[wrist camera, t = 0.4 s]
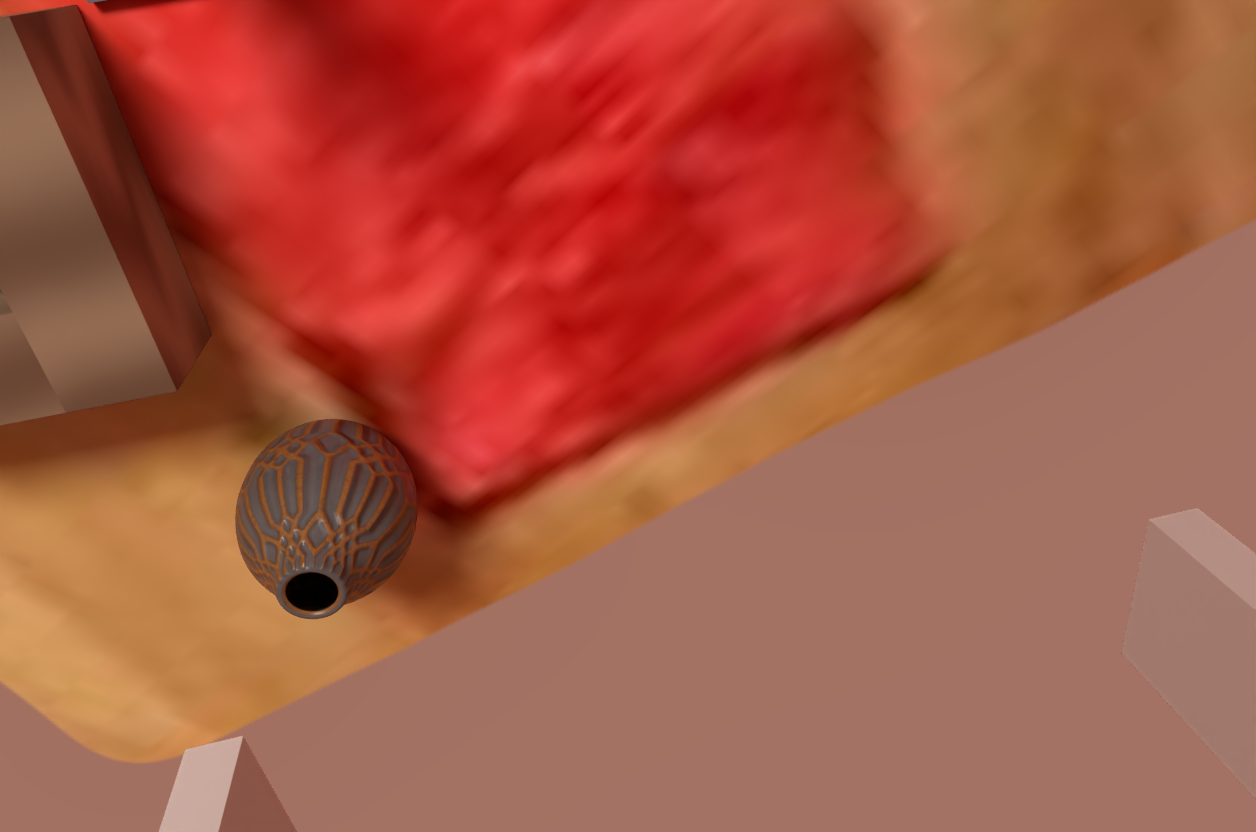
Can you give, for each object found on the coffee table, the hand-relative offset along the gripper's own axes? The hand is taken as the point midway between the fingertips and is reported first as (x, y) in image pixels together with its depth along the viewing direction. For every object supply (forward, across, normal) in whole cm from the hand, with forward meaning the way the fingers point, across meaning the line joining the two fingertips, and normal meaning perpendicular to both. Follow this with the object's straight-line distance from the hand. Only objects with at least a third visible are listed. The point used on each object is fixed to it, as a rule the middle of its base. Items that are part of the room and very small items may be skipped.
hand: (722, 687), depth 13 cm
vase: (+26, -11, -9) cm, 29 cm away
